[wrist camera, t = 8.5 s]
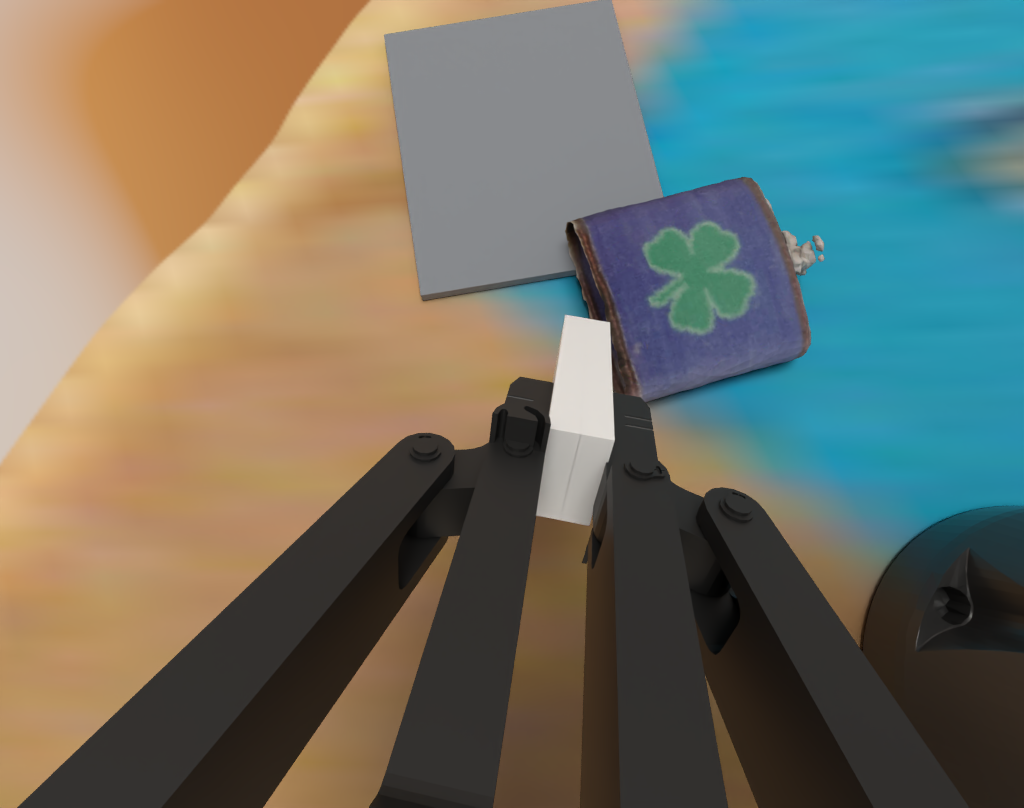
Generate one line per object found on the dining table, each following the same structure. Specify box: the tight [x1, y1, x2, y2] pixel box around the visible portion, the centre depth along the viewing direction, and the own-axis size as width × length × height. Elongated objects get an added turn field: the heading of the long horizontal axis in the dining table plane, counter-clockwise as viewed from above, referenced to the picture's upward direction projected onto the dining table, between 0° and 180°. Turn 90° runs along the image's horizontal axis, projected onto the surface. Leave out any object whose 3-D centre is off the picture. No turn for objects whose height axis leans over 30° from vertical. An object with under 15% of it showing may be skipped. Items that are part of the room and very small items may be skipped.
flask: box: [565, 177, 824, 402], centre depth 23 cm, size 9×3×11 cm
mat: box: [384, 0, 663, 301], centre depth 26 cm, size 16×13×1 cm
